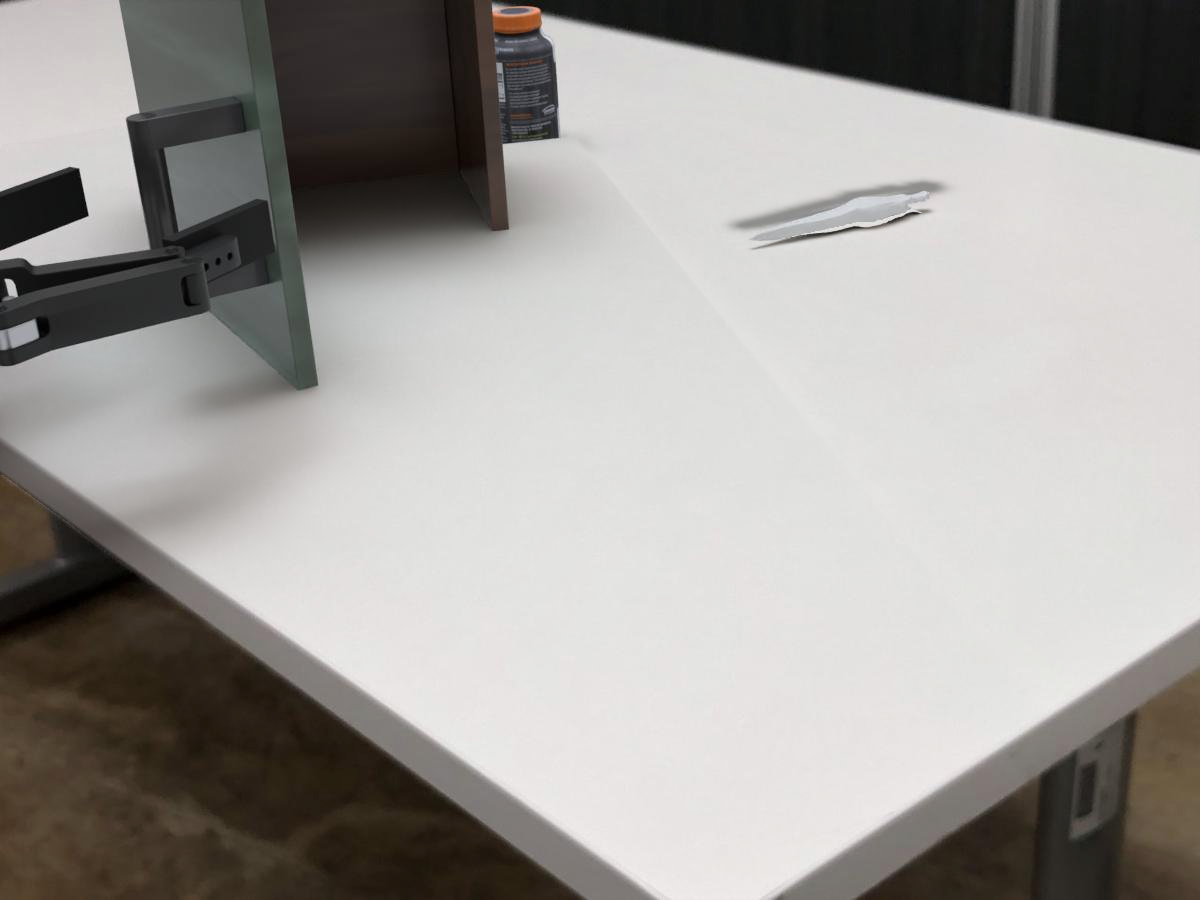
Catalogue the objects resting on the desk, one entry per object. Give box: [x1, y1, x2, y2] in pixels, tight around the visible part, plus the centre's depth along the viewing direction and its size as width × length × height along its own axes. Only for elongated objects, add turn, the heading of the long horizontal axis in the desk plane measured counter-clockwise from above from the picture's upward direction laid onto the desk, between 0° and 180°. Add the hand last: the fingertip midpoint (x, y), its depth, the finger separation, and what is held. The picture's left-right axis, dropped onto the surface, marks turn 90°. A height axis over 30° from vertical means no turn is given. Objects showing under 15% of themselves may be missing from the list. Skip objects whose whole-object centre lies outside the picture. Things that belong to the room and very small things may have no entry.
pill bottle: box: [492, 5, 562, 145], centre depth 129 cm, size 6×6×11 cm
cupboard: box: [264, 0, 510, 232], centre depth 108 cm, size 16×22×24 cm
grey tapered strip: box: [748, 190, 931, 242], centre depth 110 cm, size 15×3×2 cm, turn 116°
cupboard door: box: [118, 0, 319, 391], centre depth 89 cm, size 7×22×24 cm, turn 32°
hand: (169, 207), depth 82 cm, fingers open, 13 cm apart
